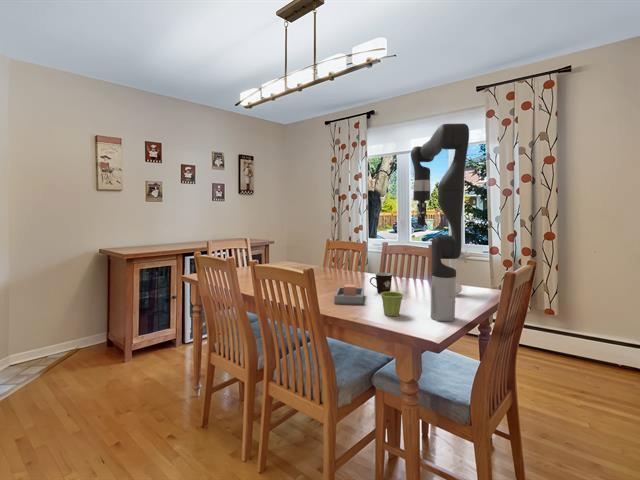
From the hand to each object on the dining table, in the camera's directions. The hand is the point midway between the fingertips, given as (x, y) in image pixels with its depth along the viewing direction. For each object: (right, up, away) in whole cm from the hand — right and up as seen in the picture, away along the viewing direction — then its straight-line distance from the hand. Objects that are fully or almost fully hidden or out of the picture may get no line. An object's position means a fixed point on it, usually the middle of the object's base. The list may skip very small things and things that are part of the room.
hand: (421, 225), depth 166 cm
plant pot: (-18, -38, -18) cm, 46 cm away
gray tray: (-33, -36, +6) cm, 49 cm away
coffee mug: (-16, -35, +20) cm, 43 cm away
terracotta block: (-33, -35, +6) cm, 48 cm away
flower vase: (+20, -35, +16) cm, 44 cm away
